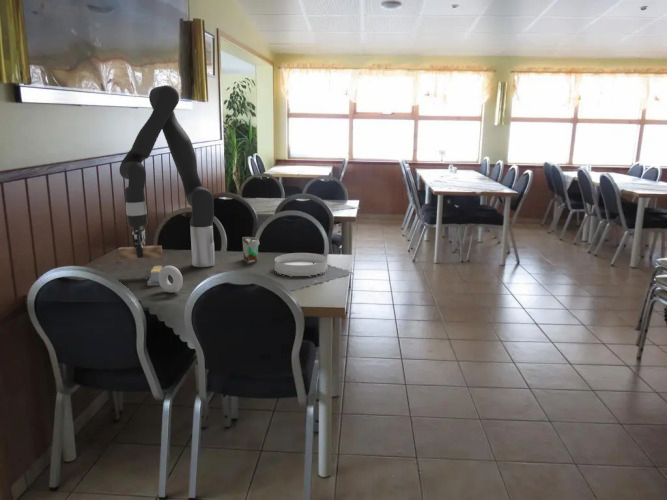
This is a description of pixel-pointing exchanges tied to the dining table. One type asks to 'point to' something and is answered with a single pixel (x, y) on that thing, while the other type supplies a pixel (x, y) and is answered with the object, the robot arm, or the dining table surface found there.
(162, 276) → the donut
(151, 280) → the ridge block
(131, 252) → the walnut bar
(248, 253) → the food container
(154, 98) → the robot arm
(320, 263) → the dish
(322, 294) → the dining table surface
